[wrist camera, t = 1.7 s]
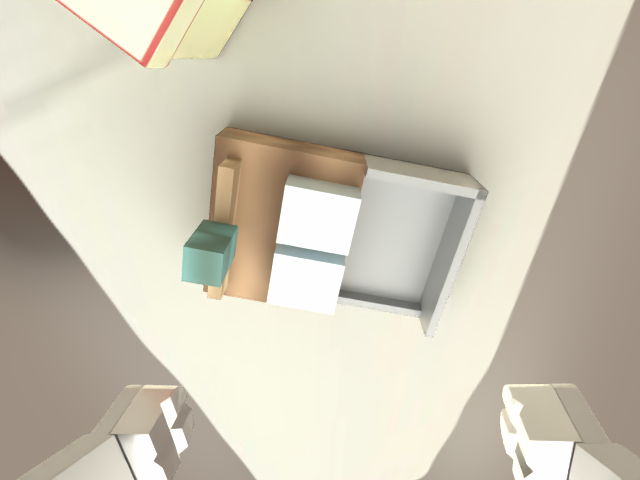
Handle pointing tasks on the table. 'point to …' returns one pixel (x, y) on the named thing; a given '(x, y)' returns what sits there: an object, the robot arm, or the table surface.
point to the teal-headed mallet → (215, 236)
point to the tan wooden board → (271, 196)
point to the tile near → (318, 214)
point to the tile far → (305, 278)
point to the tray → (410, 238)
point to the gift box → (162, 26)
